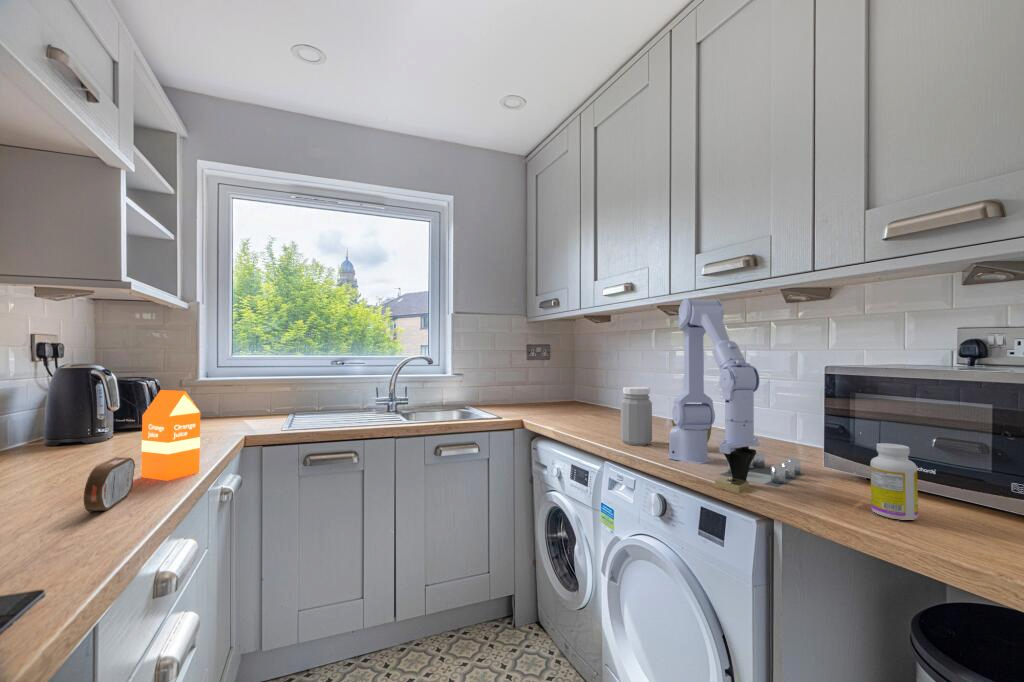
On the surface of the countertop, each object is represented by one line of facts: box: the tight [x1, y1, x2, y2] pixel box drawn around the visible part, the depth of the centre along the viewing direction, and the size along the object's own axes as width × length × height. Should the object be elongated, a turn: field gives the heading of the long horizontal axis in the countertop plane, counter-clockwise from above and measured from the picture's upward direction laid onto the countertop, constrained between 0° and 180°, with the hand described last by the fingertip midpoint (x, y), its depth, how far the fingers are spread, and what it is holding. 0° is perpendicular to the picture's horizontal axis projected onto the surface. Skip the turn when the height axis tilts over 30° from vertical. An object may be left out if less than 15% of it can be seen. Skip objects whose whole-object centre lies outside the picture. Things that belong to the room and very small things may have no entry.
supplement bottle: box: [870, 442, 919, 519], centre depth 85 cm, size 7×7×13 cm
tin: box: [83, 456, 136, 513], centre depth 89 cm, size 15×3×8 cm, turn 21°
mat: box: [719, 463, 806, 488], centre depth 111 cm, size 13×17×1 cm
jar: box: [620, 386, 653, 446], centre depth 150 cm, size 10×10×18 cm
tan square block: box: [714, 476, 750, 495], centre depth 100 cm, size 5×5×2 cm
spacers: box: [727, 451, 802, 485], centre depth 112 cm, size 13×14×4 cm
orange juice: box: [140, 389, 201, 481], centre depth 110 cm, size 8×9×20 cm
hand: (739, 481), depth 102 cm, fingers closed
